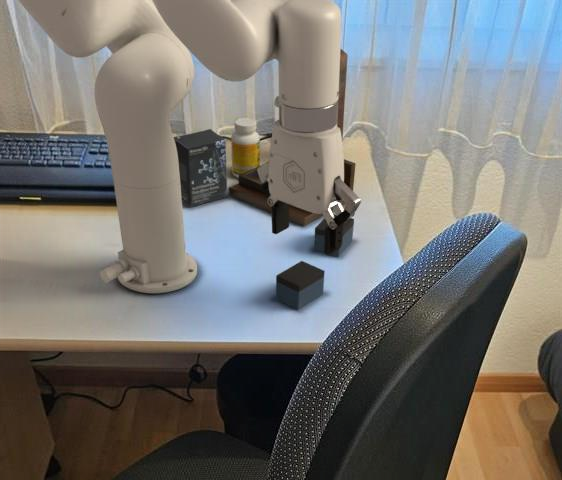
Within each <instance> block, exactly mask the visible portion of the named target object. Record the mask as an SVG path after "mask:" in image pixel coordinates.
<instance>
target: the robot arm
mask: <svg viewBox="0 0 562 480" xmlns="http://www.w3.org/2000/svg"><path fill="white" fill-rule="evenodd" d="M17 1H18V2H19V3H20V4H21V6H22V7H23V8H24V9H25V10H26V11H27V13H28V14H29V15H30V16H31V17H32V18H33V20H34V21H35V22H36V23H37V25H39V27H40V28H41V29H42V30H43V31H44V33H45V34H46V35H47V36H48V38H49V39H50V40H51V41H52V42H53V43H54V45H56V47H58V48H59V49H60V50H61V51H62V52H64V53H65V54H66V55H69V56H71V57H74V58H88V57H89V56H92V55H94V54H96V53H98V52H100V51H101V50H103V49H104V48H108V50H109V51H110V52H111V55H110V56H109V57H108V58H107V59H106V60H105V61H104V62H103V64H102V65H101V67H100V69H99V71H98V72H97V75H96V80H95V82H94V102H95V106H96V111H97V114H98V118H99V121H100V123H101V126H102V130H103V133H104V137H105V142H106V146H107V151H108V156H109V163H110V170H111V175H112V181H113V187H114V188H113V189H114V194H115V201H116V209H117V215H118V223H119V230H120V237H121V243H122V250H120V251H118V252H117V257H118V259H117V260H115V262H114V264H112V265H110V266H108V267H106V268H103V269H101V270H100V271H99V276H100V278H101V280H102V282H103V283H109V282H111V281H113V280H115V279H117V280H118V282H119V283H120V284H121V285H122V286H124V287H125V288H127V289H129V290H131V291H135V292H137V293H138V292H139V293H143V294H165V293H170V292H174V291H179V290H180V289H183V288H184V287H186V286H188V285H189V284H190V283H192V282H193V281H194V280H195V279H196V277H197V274H198V265H197V262H196V259H194V257H193V256H192V255H190V254H188V253H187V250H186V237H185V235H186V234H185V224H184V210H183V201H182V197H181V185H180V172H179V162H178V154H177V148H176V144H175V140H174V137H175V136H174V135H173V131H172V128H171V124H170V114H171V113H172V112H173V110H175V108H176V107H178V105H179V104H180V103H182V101H184V99H186V97H187V96H188V95H189V93H190V92H191V89H192V87H193V85H194V81H195V64H194V60H193V57H192V55H193V56H194V57H195V58H196V59H197V60H198V61H199V62H200V63H201V64H202V65H203V66H204V67H205V68H206V69H207V70H208V71H209V72H211V73H212V74H214V75H215V76H216V77H218V78H220V79H223V80H225V81H227V82H234V83H235V82H243V81H246V80H248V79H250V78H251V77H253V76H254V75H255V74H256V73H258V71H260V69H262V67H263V66H264V65H265V64H267V63H268V62H271V61H273V60H277V63H278V64H277V65H278V95H277V96H276V97H275V98H274V103H273V104H274V107H276V108H278V119H277V120H275V121H274V125H273V128H272V133H271V139H270V146H269V155H268V156H269V157H268V162H269V163H268V164H265V163H264V164H265V165H263V164H262V165H263V166H261V167H259V168H258V169H257V172H258V175H259V177H260V180H261V182H262V189H263V191H264V192H265V194H266V195H267V197H268V200H267V202H268V204H269V205H270V206H272V213H271V233H272V234H274V235H277V234H280V233H282V232H283V231H286V230H287V229H289V228H290V220H289V204H290V205H292V206H295V207H298V208H300V209H303V210H306V211H309V212H312V213H315V214H321V213H322V214H323V216H322V217H324V218H325V219H326V221H327V223H328V225H329V226H328V227H326V228H325V242H324V253H323V254H325V255H326V256H331V255H330V254H332V253H334V252H335V251H337V250H339V249H340V248H341V245H342V239H343V224H344V223H346V222H347V221H348V220H349V219H350V218H352V219H353V217H354V216H355V214H356V212H357V211H358V209H359V207H360V205H361V204H362V201H361V200H362V199H361V198H360V197H359V196H358V195H357V194H356V193H355V191H354V190H353V191H352V190H351V189H350V188H349V187H348V186H347V185H346V184H345V183H344V157H345V156H344V145H343V140H342V137H341V130H340V128H338V127H337V119H338V96H339V72H340V49H342V48H341V47H342V26H343V25H342V23H343V22H342V21H343V20H342V11H341V9H340V6H339V5H338V4H337V3H336V2H335V1H333V0H17ZM342 200H343V201H344V202H345V204H344V207H343V206H342V205H341V202H342ZM331 208H333V211H331ZM333 212H334V213H333ZM333 214H335V215H336V217H334V215H333Z"/></svg>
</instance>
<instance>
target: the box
mask: <svg viewBox="0 0 562 480" xmlns="http://www.w3.org/2000/svg"><path fill="white" fill-rule="evenodd" d="M173 137H174V140H175V144H176V148H177V154H178V162H179V172H180V185H181V197H182V203H184V204H186V205H187V206H188V207H189V208H192V207H195V206H199V205H202V204H205V203H206V204H207V203H210V202H214V201H218V200H222V199H223V200H225V199H227V198H228V178H227V177H228V175H227V142H226V141H227V139H225V138H224V137H223V136H221V135H219V133H217V132H215V131H214V130H212V129H210V128H209V129H204V130H201V131H197V132H192V133H187V134H184V135H183V134H182V135H179V136H178V135H176V136H173Z"/></svg>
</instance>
